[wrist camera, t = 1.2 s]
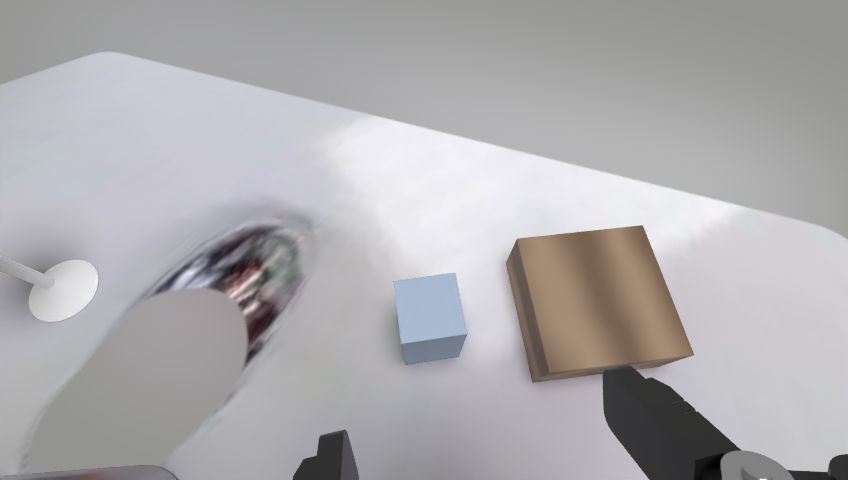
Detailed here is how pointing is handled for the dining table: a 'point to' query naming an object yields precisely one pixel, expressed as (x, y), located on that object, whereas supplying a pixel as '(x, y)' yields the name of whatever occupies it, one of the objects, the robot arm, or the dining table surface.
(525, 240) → the walnut block
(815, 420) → the dining table surface
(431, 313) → the slate blue pillar block
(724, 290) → the dining table surface
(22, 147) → the dining table surface
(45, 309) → the champagne flute
